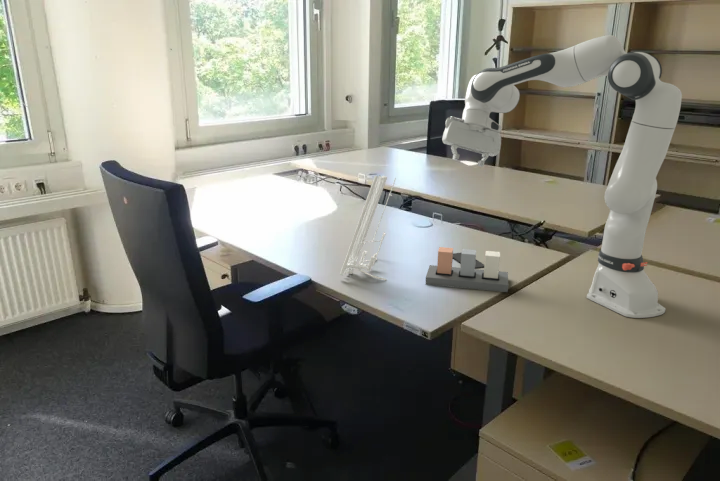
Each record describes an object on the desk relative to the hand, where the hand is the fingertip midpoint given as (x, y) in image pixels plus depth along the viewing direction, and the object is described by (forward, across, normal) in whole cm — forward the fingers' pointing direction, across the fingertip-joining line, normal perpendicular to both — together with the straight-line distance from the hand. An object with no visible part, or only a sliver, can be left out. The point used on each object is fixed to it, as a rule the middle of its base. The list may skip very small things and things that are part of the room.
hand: (468, 162), depth 176 cm
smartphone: (+32, +14, +16) cm, 38 cm away
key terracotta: (+37, -1, +3) cm, 37 cm away
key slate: (+36, +6, -1) cm, 37 cm away
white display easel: (+41, -20, +17) cm, 48 cm away
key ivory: (+36, +12, -4) cm, 38 cm away
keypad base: (+39, +7, 0) cm, 39 cm away
